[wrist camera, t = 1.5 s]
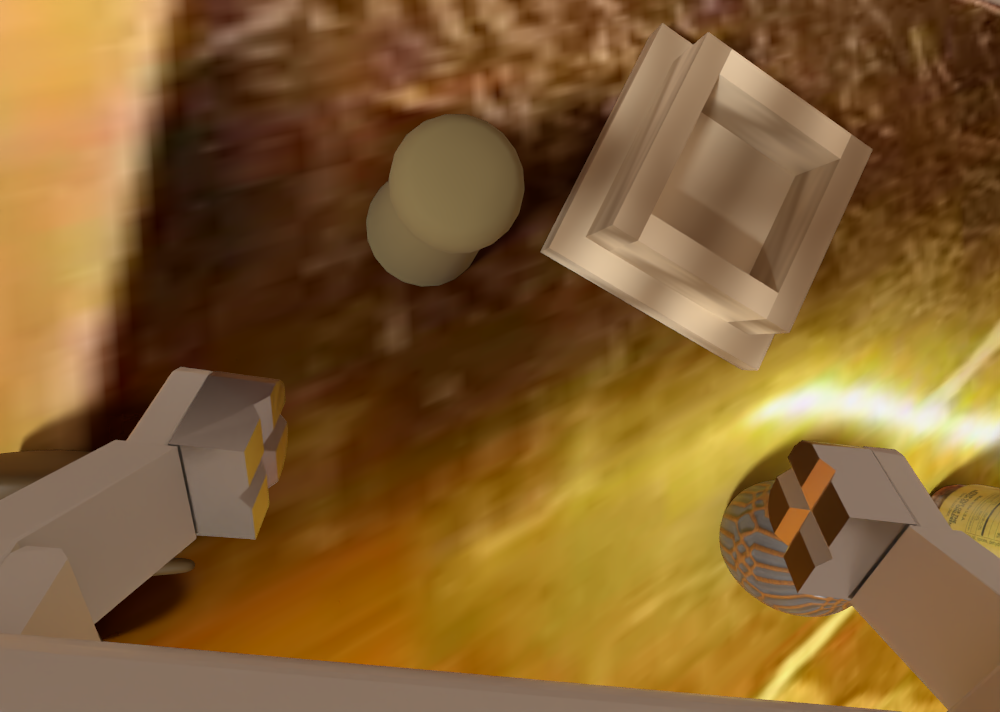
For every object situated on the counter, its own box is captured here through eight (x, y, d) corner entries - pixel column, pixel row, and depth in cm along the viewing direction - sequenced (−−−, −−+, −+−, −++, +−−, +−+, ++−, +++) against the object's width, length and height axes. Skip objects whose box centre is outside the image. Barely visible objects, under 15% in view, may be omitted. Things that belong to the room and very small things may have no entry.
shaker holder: (540, 251, 36) (572, 236, 31) (649, 35, 38) (696, -11, 33) (742, 369, 39) (799, 372, 34) (836, 165, 41) (904, 140, 36)
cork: (486, 178, 35) (552, 104, 25) (477, 292, 35) (539, 266, 25) (370, 162, 34) (387, 75, 23) (361, 280, 34) (374, 247, 23)
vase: (725, 453, 39) (834, 480, 31) (818, 494, 41) (946, 531, 32) (683, 564, 38) (782, 624, 30) (778, 602, 40) (899, 669, 31)
